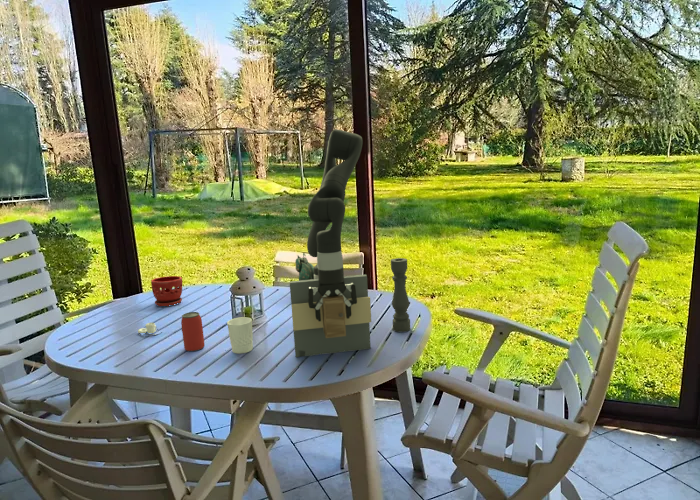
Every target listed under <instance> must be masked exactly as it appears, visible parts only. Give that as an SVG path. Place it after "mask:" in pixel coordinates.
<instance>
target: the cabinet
mask: <svg viewBox="0 0 700 500" xmlns="http://www.w3.org/2000/svg"><path fill="white" fill-rule="evenodd" d="M322 315H323V331H324V334H325V337H326V338H333V337H342V336H346V328H345V310H344V297H343V296H332V297H327V298H323V304H322Z"/></svg>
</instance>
